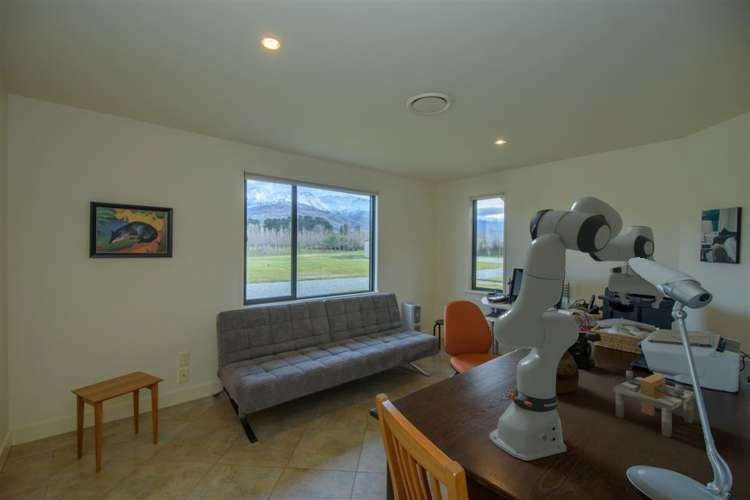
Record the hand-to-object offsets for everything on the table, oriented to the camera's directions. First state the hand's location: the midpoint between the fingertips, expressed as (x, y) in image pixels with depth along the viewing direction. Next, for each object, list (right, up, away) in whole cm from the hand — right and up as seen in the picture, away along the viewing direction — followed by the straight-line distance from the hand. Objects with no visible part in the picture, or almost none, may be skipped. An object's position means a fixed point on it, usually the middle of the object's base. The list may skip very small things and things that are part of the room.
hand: (639, 306), depth 121 cm
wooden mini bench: (-3, -34, -10) cm, 36 cm away
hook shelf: (-3, -37, -10) cm, 39 cm away
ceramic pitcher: (-24, -38, +17) cm, 48 cm away
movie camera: (0, -37, +46) cm, 59 cm away
